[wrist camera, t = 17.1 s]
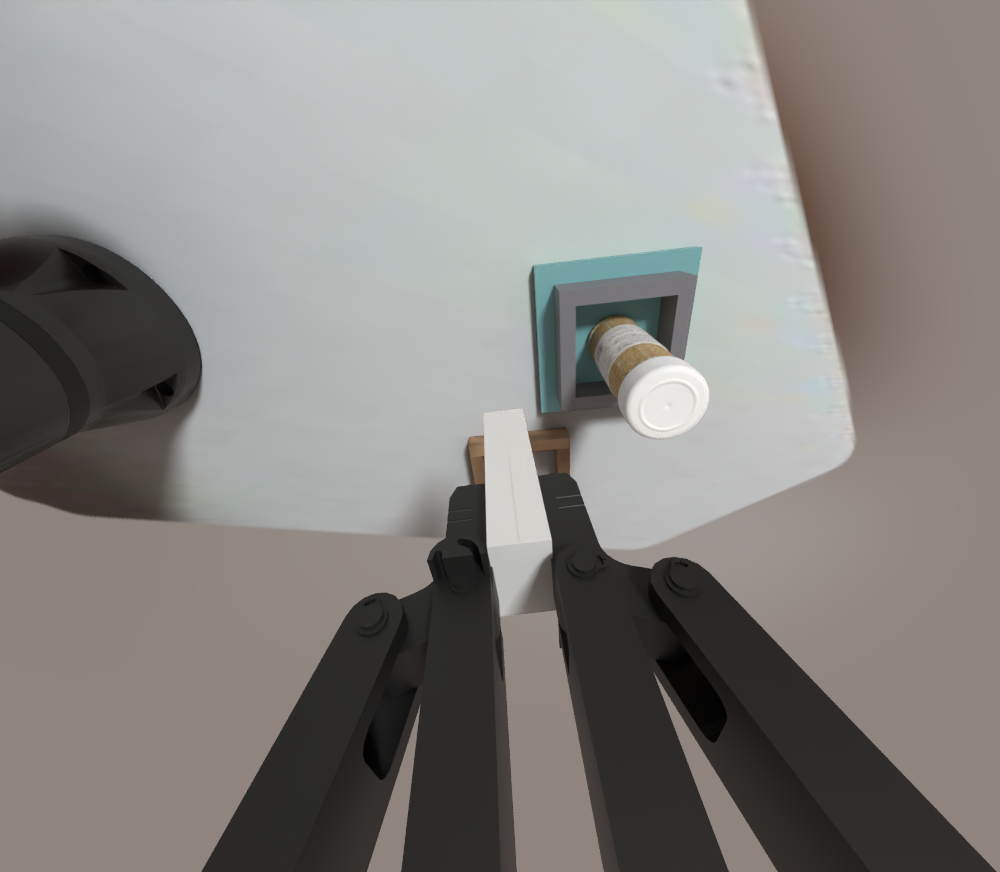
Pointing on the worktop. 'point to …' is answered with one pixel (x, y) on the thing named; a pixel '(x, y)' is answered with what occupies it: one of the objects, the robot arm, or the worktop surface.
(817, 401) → the worktop surface
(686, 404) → the sprinkles bottle
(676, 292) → the plate
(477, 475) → the stand collar
